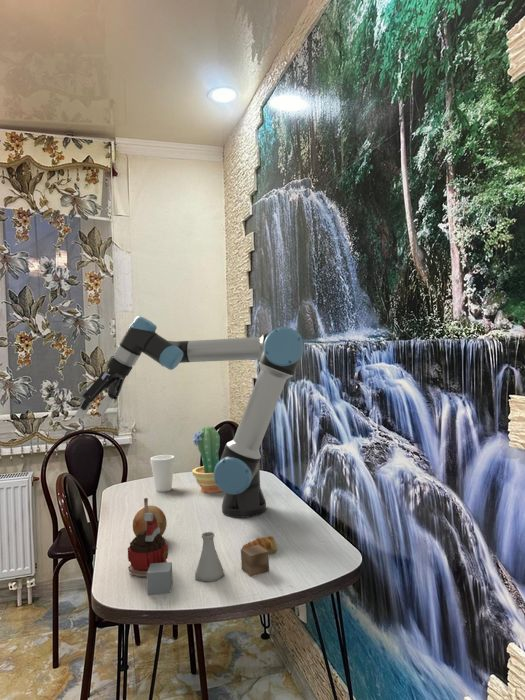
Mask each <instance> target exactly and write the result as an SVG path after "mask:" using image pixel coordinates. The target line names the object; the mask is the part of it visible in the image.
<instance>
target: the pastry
mask: <svg viewBox="0 0 525 700" xmlns="http://www.w3.org/2000/svg"><path fill="white" fill-rule="evenodd" d="M255 545H260V546H261V547H263V548H264V549H266V550H267V551H268V555H269V556H271V555H272V556H273V555H276V554H277V552H278V546H277V542H276V540H275V538H274V536H272V535H268V536H264V537H263V536H262V537H257V538H255V539H253V540H252V541H249V542H247V543H245V544H243V545H242V547H241V549H244V548H248V547H251V546H255Z"/></svg>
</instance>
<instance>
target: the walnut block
mask: <svg viewBox="0 0 525 700" xmlns="http://www.w3.org/2000/svg"><path fill="white" fill-rule="evenodd" d="M269 556H270V555H268V551H267V550H266V549H264V548H263V547H261V546H260V545H255V546H251V547H248V548H244V549H242V548H241V549H240V558H241V559H240V561H241V563H240V566H241V570H242V571H243V572H244V573H246V574H247V575H248V576H249V577H251V578H253V577H256V576H259V575H262V574H265V573H270V561H269V558H270V557H269Z"/></svg>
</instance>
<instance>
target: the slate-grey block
mask: <svg viewBox="0 0 525 700" xmlns="http://www.w3.org/2000/svg"><path fill="white" fill-rule="evenodd" d="M173 583H174V581H173V562H172V561H167V562H166V563H152V564H150V566H149V569H148V572H147V576H146V584H147V587H146V591H147V596H154V595H169V594H171V592H172V587H173Z"/></svg>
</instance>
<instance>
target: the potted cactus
mask: <svg viewBox="0 0 525 700" xmlns="http://www.w3.org/2000/svg"><path fill="white" fill-rule="evenodd" d="M192 439H193V440H192V442H193V445H194V446H196V447H197V449H198V451H199V454H200V456H201V461H202V465H203V466H198V467H195V468H194V469H192V475H193V477H194V478H195V480H196V484H198V485H199V487H200V492H202V493H218V492H221V491H222V490H220V489H219V488H218V486H217V485H216V483H215V480H214V469H215V466H216V464H217V463H218V462H219V461H220V459H219V458H220V456H219V450H220V446H221V442H220V441H221V436H220V434H219V433H218V430H216V428H215V427H214V426H210V425H209V426H207V427H206V426H203V427H202V428H201V430H198V431H196V432H195V434H194V435H193V437H192Z"/></svg>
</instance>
